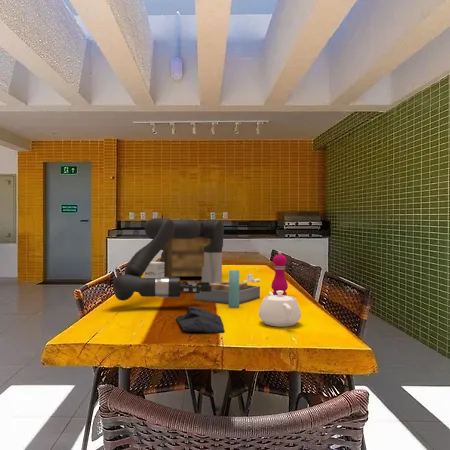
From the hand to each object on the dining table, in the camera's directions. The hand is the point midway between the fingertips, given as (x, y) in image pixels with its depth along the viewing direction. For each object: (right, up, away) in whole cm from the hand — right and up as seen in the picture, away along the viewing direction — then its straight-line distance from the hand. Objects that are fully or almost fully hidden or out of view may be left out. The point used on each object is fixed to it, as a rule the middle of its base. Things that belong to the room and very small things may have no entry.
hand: (210, 286), depth 169 cm
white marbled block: (-29, -7, +46) cm, 55 cm away
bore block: (+7, -8, +18) cm, 21 cm away
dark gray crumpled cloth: (-2, -9, -28) cm, 30 cm away
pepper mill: (+30, -8, +26) cm, 40 cm away
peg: (+9, -8, +1) cm, 12 cm away
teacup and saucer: (+20, -8, +70) cm, 73 cm away
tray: (+7, -8, +18) cm, 21 cm away
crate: (-15, -7, +88) cm, 89 cm away
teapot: (+23, -9, -25) cm, 35 cm away
